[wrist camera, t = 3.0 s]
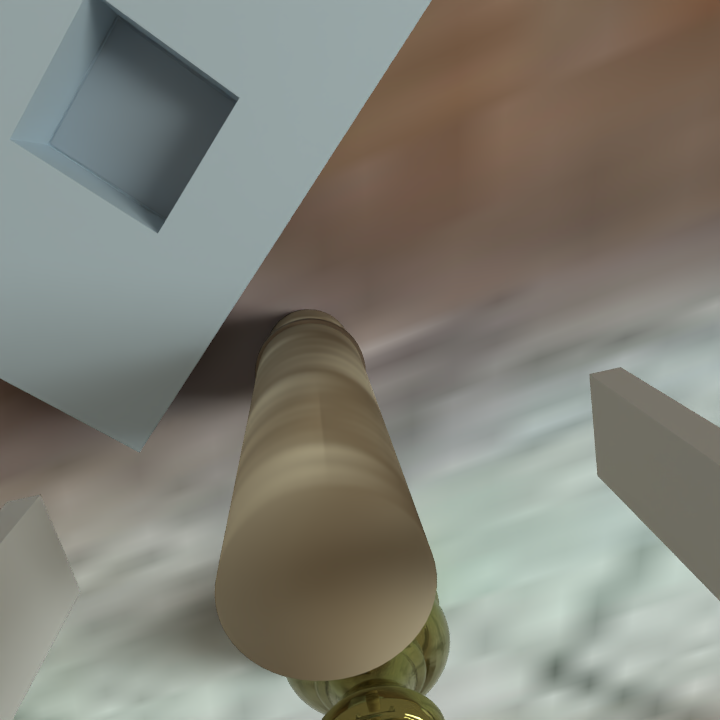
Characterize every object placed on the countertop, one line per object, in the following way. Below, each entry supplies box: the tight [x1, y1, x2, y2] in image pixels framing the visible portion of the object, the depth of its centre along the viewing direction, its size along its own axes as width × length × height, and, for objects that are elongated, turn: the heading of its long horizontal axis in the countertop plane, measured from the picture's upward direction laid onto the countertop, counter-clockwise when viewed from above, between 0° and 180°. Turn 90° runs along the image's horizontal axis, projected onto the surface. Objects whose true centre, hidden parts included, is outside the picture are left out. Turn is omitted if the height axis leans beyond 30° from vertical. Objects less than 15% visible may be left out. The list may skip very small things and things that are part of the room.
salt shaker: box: [286, 591, 450, 720], centre depth 25 cm, size 7×7×10 cm
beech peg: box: [215, 310, 437, 681], centre depth 18 cm, size 4×4×16 cm
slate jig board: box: [0, 0, 431, 452], centre depth 21 cm, size 20×12×4 cm, turn 145°
